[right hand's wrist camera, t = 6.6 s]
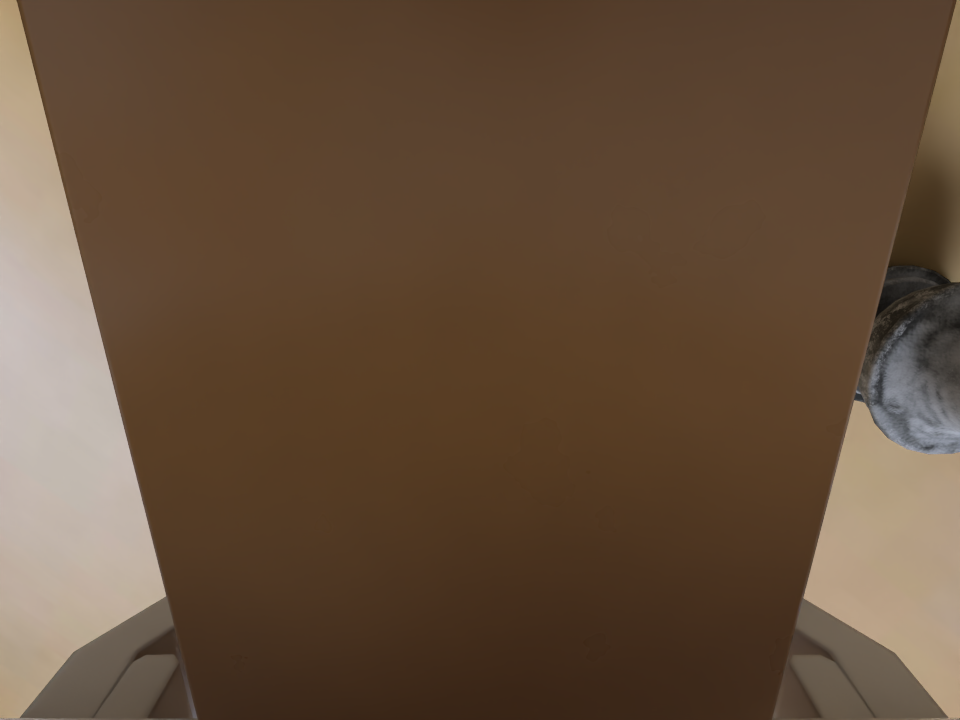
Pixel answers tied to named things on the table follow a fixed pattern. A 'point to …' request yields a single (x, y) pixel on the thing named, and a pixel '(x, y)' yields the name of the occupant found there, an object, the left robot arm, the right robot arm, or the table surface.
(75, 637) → the table surface
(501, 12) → the bar
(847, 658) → the right robot arm
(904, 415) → the grey chess piece
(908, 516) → the table surface
